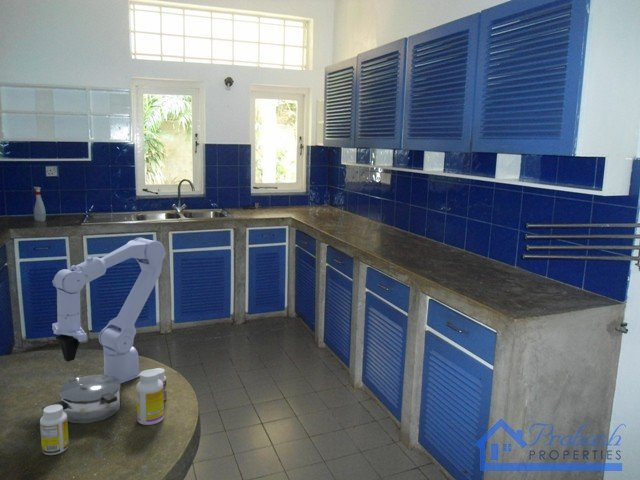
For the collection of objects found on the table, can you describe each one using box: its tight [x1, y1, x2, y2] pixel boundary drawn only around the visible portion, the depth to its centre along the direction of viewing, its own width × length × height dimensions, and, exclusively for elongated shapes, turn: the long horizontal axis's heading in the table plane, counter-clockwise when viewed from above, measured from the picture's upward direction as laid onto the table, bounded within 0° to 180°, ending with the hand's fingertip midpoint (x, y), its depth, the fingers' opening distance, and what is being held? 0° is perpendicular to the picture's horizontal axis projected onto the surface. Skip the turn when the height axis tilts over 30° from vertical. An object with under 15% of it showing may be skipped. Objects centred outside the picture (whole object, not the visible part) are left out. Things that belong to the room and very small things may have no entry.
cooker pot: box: [41, 390, 121, 424], centre depth 134 cm, size 19×14×6 cm
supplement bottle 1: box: [39, 404, 70, 456], centre depth 117 cm, size 6×6×10 cm
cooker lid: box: [59, 374, 121, 404], centre depth 134 cm, size 15×18×1 cm
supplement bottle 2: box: [135, 368, 165, 426], centre depth 131 cm, size 7×7×13 cm
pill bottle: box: [154, 367, 168, 401], centre depth 143 cm, size 5×5×8 cm
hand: (69, 360), depth 143 cm, fingers closed
